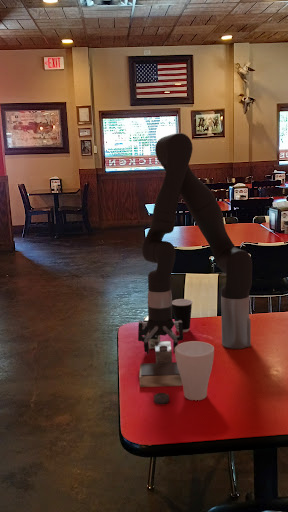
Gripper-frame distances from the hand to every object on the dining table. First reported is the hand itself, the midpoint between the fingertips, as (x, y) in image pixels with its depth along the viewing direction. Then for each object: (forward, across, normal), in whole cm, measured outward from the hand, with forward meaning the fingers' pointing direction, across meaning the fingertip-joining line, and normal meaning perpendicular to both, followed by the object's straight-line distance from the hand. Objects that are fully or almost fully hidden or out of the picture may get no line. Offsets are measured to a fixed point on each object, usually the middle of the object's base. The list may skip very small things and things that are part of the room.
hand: (161, 352), depth 154 cm
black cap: (+3, 0, +26) cm, 26 cm away
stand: (+3, 0, +13) cm, 13 cm away
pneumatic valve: (+3, +3, -12) cm, 12 cm away
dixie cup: (+3, -8, -28) cm, 29 cm away
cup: (+3, -9, +24) cm, 25 cm away
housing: (+3, -1, 0) cm, 3 cm away
